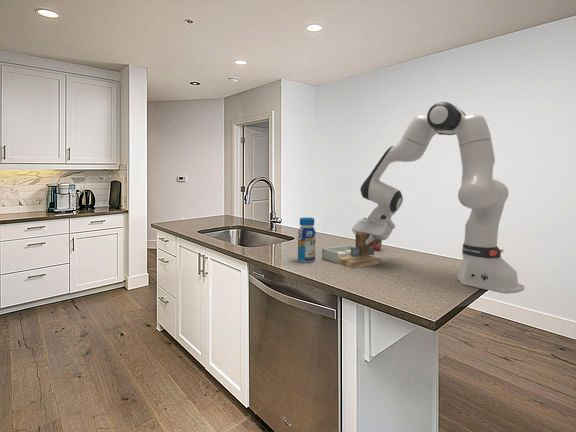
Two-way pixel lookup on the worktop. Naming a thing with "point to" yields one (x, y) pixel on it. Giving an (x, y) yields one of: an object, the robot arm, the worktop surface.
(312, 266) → the worktop surface
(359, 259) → the board
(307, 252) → the beverage bottle
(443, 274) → the worktop surface
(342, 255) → the tile
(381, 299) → the worktop surface
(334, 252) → the tray
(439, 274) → the worktop surface
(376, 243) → the smoothie
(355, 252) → the stacked block structure
